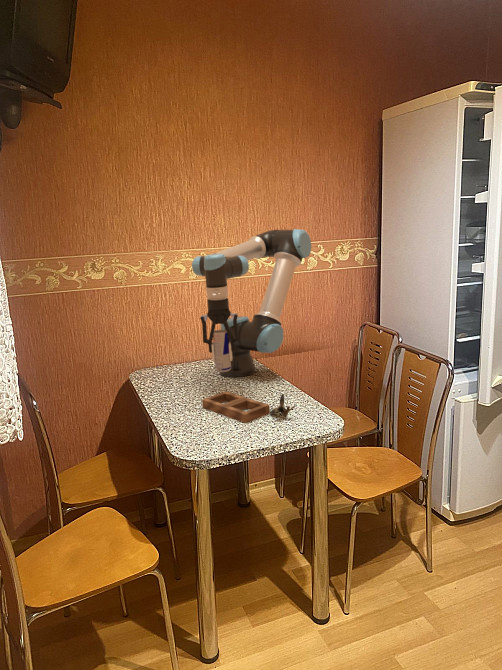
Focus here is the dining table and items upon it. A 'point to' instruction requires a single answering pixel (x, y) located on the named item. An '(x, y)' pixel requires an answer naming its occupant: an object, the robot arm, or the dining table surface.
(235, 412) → the walnut holder board
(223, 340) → the beverage can
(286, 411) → the eagle figurine
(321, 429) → the dining table surface
